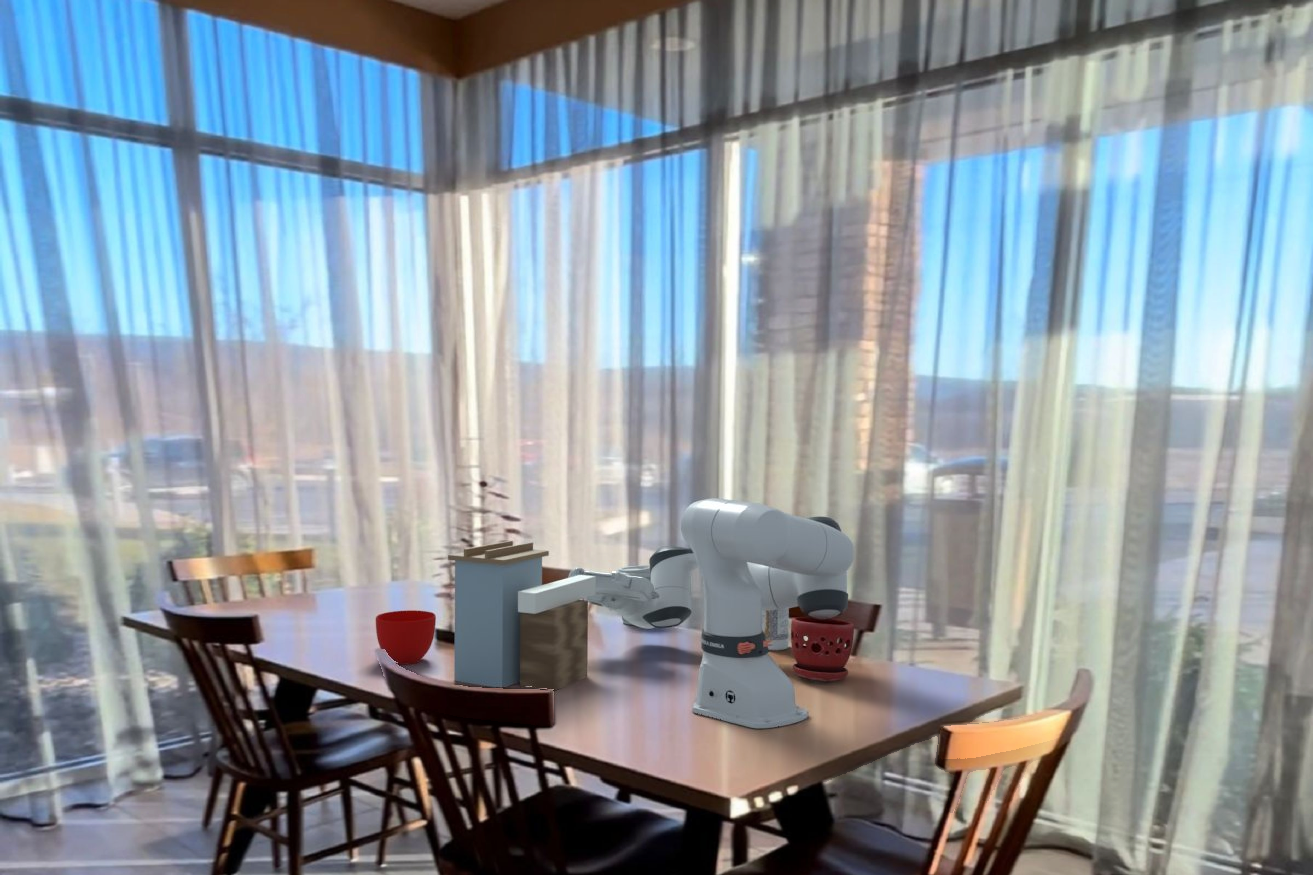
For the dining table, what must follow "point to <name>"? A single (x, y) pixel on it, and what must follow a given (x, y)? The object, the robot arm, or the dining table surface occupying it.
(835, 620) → the plant pot
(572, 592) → the white beam
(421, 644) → the ceramic cup
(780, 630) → the bath foam
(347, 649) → the dining table surface
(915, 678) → the dining table surface
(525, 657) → the walnut block
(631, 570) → the disposable coffee cup
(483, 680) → the cabinet
